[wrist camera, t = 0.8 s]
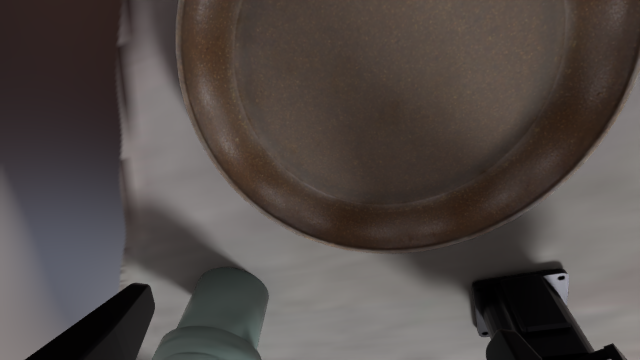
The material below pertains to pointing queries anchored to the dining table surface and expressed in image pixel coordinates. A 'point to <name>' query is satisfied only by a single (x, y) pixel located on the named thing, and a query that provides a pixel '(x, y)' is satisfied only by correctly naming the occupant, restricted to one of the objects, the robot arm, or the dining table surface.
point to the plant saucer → (402, 108)
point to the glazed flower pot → (219, 319)
